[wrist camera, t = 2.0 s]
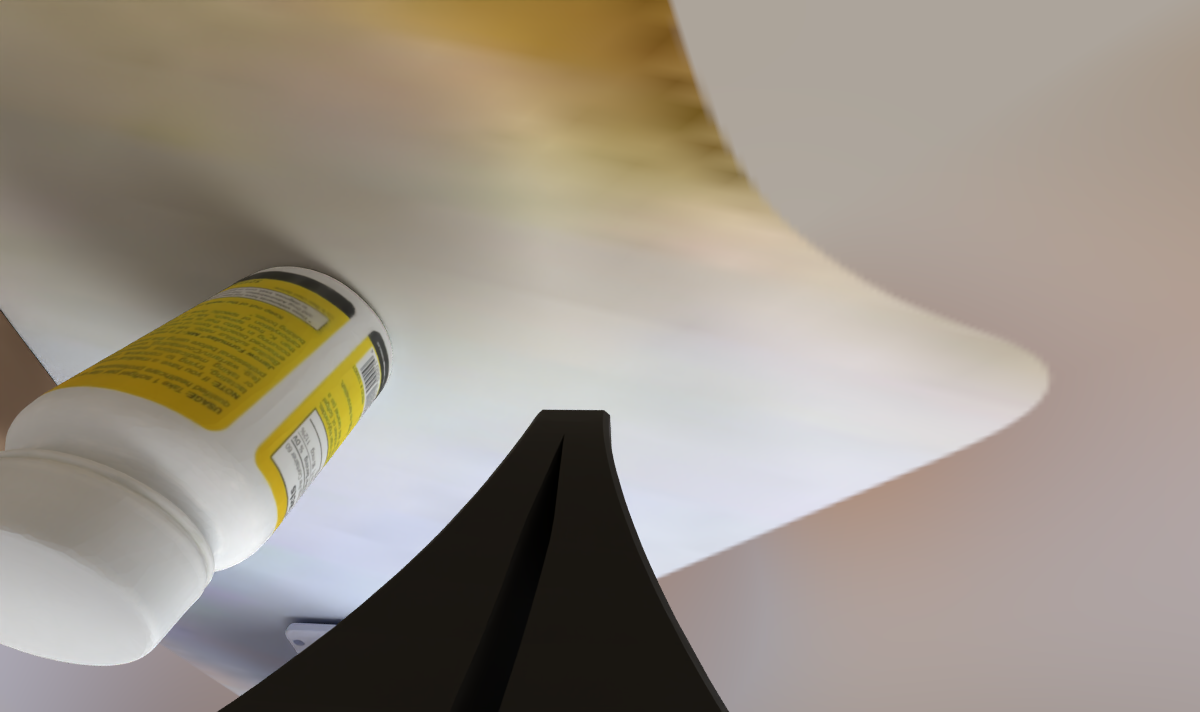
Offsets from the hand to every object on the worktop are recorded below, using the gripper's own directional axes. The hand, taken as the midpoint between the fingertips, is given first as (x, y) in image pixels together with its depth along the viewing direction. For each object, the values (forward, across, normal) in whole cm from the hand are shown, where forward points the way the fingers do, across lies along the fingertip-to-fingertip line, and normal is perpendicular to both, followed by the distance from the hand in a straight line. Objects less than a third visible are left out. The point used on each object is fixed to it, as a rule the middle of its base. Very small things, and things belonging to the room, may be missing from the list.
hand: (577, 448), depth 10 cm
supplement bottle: (+5, +8, 0) cm, 10 cm away
